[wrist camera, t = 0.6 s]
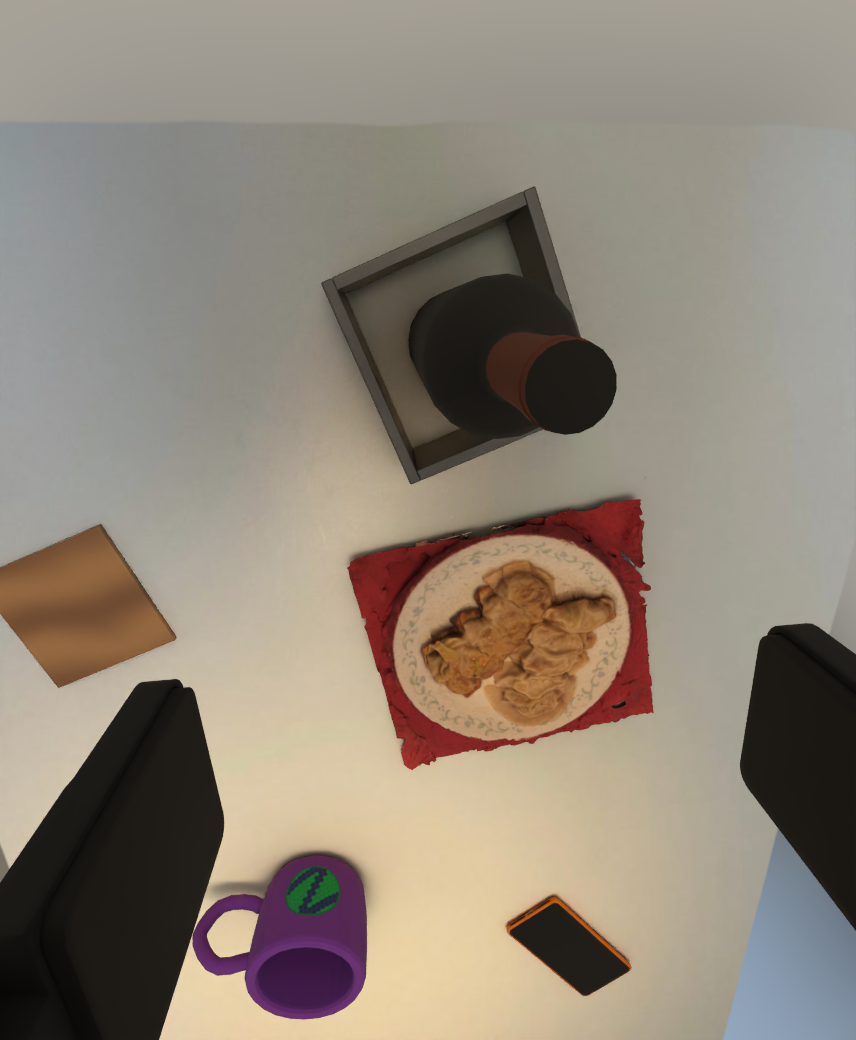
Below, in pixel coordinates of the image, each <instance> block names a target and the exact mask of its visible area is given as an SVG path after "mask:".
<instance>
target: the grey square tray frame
mask: <svg viewBox="0 0 856 1040" xmlns="http://www.w3.org/2000/svg"><path fill="white" fill-rule="evenodd" d="M504 222H506V223H507V226H508V229H509V232H510V235H511V238H512V241H513V244H514V248H515V251H516V254H517V257H518V260H519V263H520V266H521V269H522V272H523V275H524V278H529V279H532V280H534V281H536V282H537V283H539V284H540V285H542V286H544V287H545V288H547V289H548V290H550V291H551V292H553V293H554V294H556V295H557V296H558V297H559V299H560V300H561V301H562V303H563V304H564V305H565V306H566V308H567V309H568V310H569V312H570V313H571V314H572V317H573V320H574V322H575V325H576V328H577V331H578V334H579V337H580V338H581V336H580V333H579V330H578V327H577V323H576V320H575V317H574V313H573V310H572V307H571V303H570V300H569V297H568V294H567V290H566V287H565V284H564V280H563V277H562V274H561V270H560V267H559V264H558V260H557V257H556V254H555V251H554V247H553V244H552V241H551V237H550V234H549V231H548V227H547V224H546V221H545V218H544V214H543V211H542V208H541V204H540V201H539V198H538V194H537V191H536V188H535V187H532V188H529V189H527V190H525V191H523V192H520V193H518V194H516V195H514V196H512V197H509V198H507V199H505V200H503V201H501V202H498V203H496V204H494V205H492V206H489V207H487V208H485V209H483V210H481V211H478V212H476V213H474V214H472V215H470V216H467V217H465V218H463V219H461V220H459V221H456V222H454V223H452V224H450V225H448V226H445V227H443V228H441V229H439V230H436V231H434V232H432V233H430V234H428V235H425V236H423V237H421V238H419V239H417V240H414V241H412V242H410V243H408V244H406V245H403V246H401V247H399V248H397V249H395V250H392V251H390V252H388V253H386V254H383V255H381V256H379V257H377V258H375V259H372V260H370V261H368V262H366V263H364V264H361V265H359V266H357V267H355V268H353V269H350V270H348V271H346V272H344V273H342V274H339V275H337V276H335V277H333V279H332V278H331V279H328V280H326V281H324V282H322V283H321V284H322V287H323V289H324V291H325V293H326V296H327V298H328V300H329V302H330V305H331V307H332V309H333V311H334V314H335V316H336V318H337V320H338V323H339V325H340V327H341V329H342V332H343V334H344V336H345V338H346V341H347V343H348V345H349V347H350V350H351V352H352V354H353V356H354V359H355V361H356V363H357V365H358V367H359V370H360V372H361V374H362V376H363V379H364V381H365V383H366V385H367V388H368V390H369V392H370V394H371V397H372V399H373V401H374V403H375V406H376V408H377V410H378V412H379V415H380V417H381V419H382V421H383V424H384V426H385V428H386V430H387V433H388V435H389V437H390V439H391V442H392V444H393V446H394V448H395V451H396V453H397V455H398V457H399V460H400V462H401V464H402V466H403V469H404V471H405V473H406V475H407V477H408V480H409V482H410V484H413V483H416V482H418V481H420V480H423V479H426V478H428V477H430V476H433V475H435V474H438V473H440V472H442V471H445V470H447V469H449V468H452V467H454V466H457V465H459V464H461V463H464V462H466V461H469V460H471V459H473V458H476V457H478V456H480V455H483V454H485V453H488V452H490V451H492V450H495V449H497V448H500V447H502V446H504V445H507V444H509V443H511V442H514V441H516V440H519V439H521V438H523V437H526V436H528V435H531V434H533V433H535V432H538V431H540V430H542V428H541V427H539V428H537V429H535V430H533V431H530V432H528V433H526V434H524V435H522V436H517V437H510V438H502V439H494V438H489V437H484V436H478V435H473V434H470V433H469V432H467V431H465V430H463V429H460V430H457V431H455V432H453V433H450V434H448V435H446V436H443V437H441V438H438V439H436V440H434V441H431V442H429V443H427V444H424V445H422V446H420V447H417V448H415V449H412V447H411V444H410V442H409V440H408V437H407V435H406V433H405V430H404V428H403V426H402V423H401V421H400V419H399V417H398V414H397V412H396V410H395V407H394V405H393V403H392V400H391V398H390V396H389V394H388V391H387V389H386V387H385V384H384V382H383V380H382V377H381V375H380V373H379V370H378V368H377V366H376V364H375V361H374V359H373V357H372V354H371V352H370V350H369V347H368V345H367V343H366V341H365V338H364V336H363V334H362V331H361V329H360V327H359V324H358V322H357V320H356V317H355V315H354V313H353V311H352V308H351V306H350V304H349V301H348V299H347V297H346V294H345V293H348V292H350V291H352V290H355V289H357V288H359V287H361V286H364V285H366V284H368V283H370V282H372V281H375V280H377V279H379V278H381V277H384V276H386V275H388V274H390V273H393V272H395V271H397V270H399V269H401V268H404V267H406V266H408V265H410V264H413V263H415V262H417V261H419V260H421V259H424V258H426V257H428V256H430V255H433V254H435V253H437V252H439V251H441V250H444V249H446V248H448V247H450V246H453V245H455V244H457V243H459V242H461V241H464V240H466V239H468V238H470V237H473V236H475V235H477V234H479V233H481V232H484V231H486V230H488V229H490V228H493V227H495V226H497V225H499V224H501V223H504Z"/></svg>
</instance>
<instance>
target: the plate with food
mask: <svg viewBox="0 0 856 1040" xmlns="http://www.w3.org/2000/svg"><path fill="white" fill-rule="evenodd" d="M639 515H642V511H641V508H640V500H639V499H637V500H626V501H620V502H605V503H604V504H603V505H602V506H600V507H598V508H596V509H592V510H589V511H585V512H581V511H573V510H571V509H569V510H568V511H560V513H559V512H558V514H556V515H551V516H548V517H540V518H538V519H530V520H527V521H523V522H519V523H516V524H511V525H508V526H504V525H500V526H499V527H497V529H500V528H502V529H505V528H511V527H514V526H515V527H514V528H516V526H517V527H519V528H516V529H513V530H509V531H506V532H502V533H499V534H492V535H488V536H485V537H482V538H474V539H469V540H463V538H460V537H461V536H463V535H464V539H468V538H467V535H468V534H471V532H468V533H464V534H459V535H454V534H453V536H450V537H445V538H442V539H440V540H439V541H440V542H438V541H436V543H432V542H431V543H429V542H428V541H427V540H424V541H422V542H416V546H413V547H408V548H398V549H393V550H389V551H385V552H381V553H375V554H371V555H367V556H364V557H362V558H357V559H355V560H353V561H352V562H351V563H350V566H349V567H348V568H347V569H348V570H349V575H350V580H351V582H352V585H353V589H354V593H355V596H356V599H357V601H358V604H359V608H360V611H361V616H362V618H366V621H367V623H366V625H365V629H366V631H367V635H368V638H369V642H370V645H371V648H372V652H373V655H374V659H375V663H376V667H377V670H378V672H380V675H381V678H382V682H383V685H384V689H385V692H386V696H387V701H388V704H389V709H390V713H391V716H392V720H393V723H394V727H395V730H396V735H397V738H399V739H400V738H401V739H406V741H405V743H404V746H403V748H402V752H401V754H402V757H403V761H404V765H405V766H406V767H407V768H409V769H411V770H413V769H414V768H416V767H417V766H419V765H421V764H422V763H424V764H426V765H430V762H431V761H433V762H435V761H436V759H435V758H437V757H443V756H449V755H453V754H458V753H461V752H465V751H467V752H468V751H469V750H476V749H477V751H481V750H484V751H492V750H494V748H495V749H497V748H498V747H499V746H504V745H508V744H511V745H518V744H521V743H523V742H529V743H530V744H533V743H534V742H535V741H536V739H538V738H541V737H548V736H550V735H553V734H556V733H559V732H565V731H570V732H573V731H574V730H583V729H587V728H589V727H590V726H591V725H594V724H602V723H610V722H611V721H613V722H618V721H619V720H620V719H621V718H623V719H624V718H627V717H628V716H630V715H638V714H642V713H647V714H648V713H650V712H652V713H654V712H653V705H652V703H651V702H652V693H651V688H650V686H652V681H651V676H650V674H649V662H648V659H649V658H648V656H649V654H648V649H647V648H648V643H647V640H648V639H647V629H646V620H645V613H646V606H647V605H642V604H644V603H645V599H644V598H643V597H641V596H640V594H639V592H640V591H641V590H644V591H649V590H651V587H650V585H648V584H646V583H644V582H643V581H642V576H641V575H640V573H639V572H638V571H636V569H635V567H634V566H633V565H632V564H630V563H628V561H627V562H626V560H625V559H624V558H623V556H622V553H621V552H623V553H624V554H626V555H627V557H628V558H630V559H631V560H632V562H633V563H634V564H635V566H637V567H638V568H641V567H642V566H643V565H644V564H645V562H643V554H642V538H643V536H642V530H643V527H644V521H643V520H642V521H641V519H640V517H639ZM520 526H522V527H520ZM493 530H496V527H493V529H491V531H493ZM622 701H625V702H626V705H625V706H622V707H621V708H618V709H614V708H612V707H611V706H613V705H614V704H617V703H620V702H622Z"/></svg>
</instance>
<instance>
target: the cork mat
mask: <svg viewBox="0 0 856 1040" xmlns="http://www.w3.org/2000/svg"><path fill="white" fill-rule="evenodd" d="M0 614H1V615H2V617H3V618H4V619H5V621H6V622H7V623H8V624H9V626H10V627H11V628H12V629H13V631H14V632H15V633H16V635H17V636H18V637H19V638H20V640H21V641H22V642H23V643H24V645H25V646H26V647H27V649H28V650H29V651H30V652H31V654H32V655H33V656H34V657H35V659H36V660H37V661H38V663H39V664H40V665H41V666H42V668H43V669H44V670H45V671H46V673H47V674H48V675H49V677H50V678H51V679H52V680H53V682H54V683H55V684H56V685H57V687H58V688H60V687H62V686H64V685H67V684H69V683H72V682H74V681H77V680H79V679H81V678H84V677H86V676H89V675H91V674H94V673H96V672H98V671H101V670H103V669H106V668H108V667H111V666H113V665H115V664H118V663H120V662H123V661H125V660H128V659H130V658H133V657H135V656H137V655H140V654H142V653H145V652H147V651H150V650H152V649H154V648H157V647H159V646H162V645H164V644H167V643H169V642H171V641H174V640H175V639H176V636H175V635H174V633H173V632H172V630H171V629H170V627H169V626H168V624H167V623H166V621H165V620H164V618H163V617H162V615H161V614H160V612H159V611H158V609H157V608H156V606H155V605H154V603H153V602H152V600H151V599H150V597H149V596H148V594H147V593H146V591H145V590H144V588H143V587H142V585H141V584H140V582H139V581H138V579H137V578H136V576H135V575H134V573H133V572H132V570H131V569H130V567H129V566H128V564H127V563H126V561H125V560H124V558H123V557H122V555H121V554H120V552H119V551H118V549H117V548H116V546H115V545H114V543H113V542H112V540H111V539H110V537H109V536H108V534H107V533H106V531H105V530H104V528H103V527H102V525H98V526H96V527H93V528H91V529H89V530H86V531H84V532H82V533H79V534H77V535H75V536H72V537H70V538H68V539H65V540H63V541H61V542H59V543H56V544H54V545H52V546H49V547H47V548H45V549H42V550H40V551H38V552H35V553H33V554H31V555H28V556H26V557H24V558H22V559H19V560H17V561H15V562H12V563H10V564H8V565H5V566H3V567H1V568H0Z"/></svg>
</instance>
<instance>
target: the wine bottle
mask: <svg viewBox="0 0 856 1040" xmlns="http://www.w3.org/2000/svg"><path fill="white" fill-rule="evenodd" d="M408 342H409V350H410V357H411V359H412V361H413V363H414V365H415V367H416V370H417V372H418V374H419V376H420V377H421V379H422V381H423V383H424V385H425V387H426V389H427V391H428V393H429V395H430V397H431V399H432V401H433V403H434V405H435V406H436V407H437V408H438V409H439V410H440V411H441V413H442V414H443V415H444V416H445V417H446V418H447V419H448V420H449V421H450V422H451V423H452V424H454V425H456V426H458V427H460V428H461V429H463V430H465V431H467V432H469V433H470V434H473V435H478V436H484V437H489V438H494V439H502V438H510V437H517V436H522V435H524V434H526V433H528V432H530V431H533V430H535V429H537V428H539V427H541V428H542V429H544V430H546V431H551V432H554V433H559V434H565V435H566V434H574V433H580V432H582V431H584V430H586V429H589V428H591V427H593V426H594V425H595V424H596V423H597V422H599V421H600V420H601V419H602V418H603V417H604V416H605V414H606V413H607V411H608V410H609V408H610V407H611V405H612V403H613V400H614V396H615V393H616V372H615V369H614V366H613V363H612V361H611V359H610V358H609V357H608V356H607V354H606V353H605V352H604V350H603V349H601V348H599V347H598V346H596V345H595V344H593V343H591V342H589V341H588V340H586V339H583V338H580V337H579V334H578V331H577V328H576V325H575V322H574V320H573V317H572V314H571V313H570V312H569V310H568V309H567V308H566V306H565V305H564V304H563V303H562V301H561V300H560V299H559V297H558V296H557V295H556V294H554V293H553V292H551V291H550V290H548V289H547V288H545V287H544V286H542V285H540V284H539V283H537V282H536V281H534V280H532V279H529V278H524V277H520V276H515V275H511V274H501V275H493V276H485V277H480V278H478V279H475V280H473V281H470V282H468V283H465V284H463V285H460V286H458V287H455V288H453V289H451V290H448V291H446V292H443V293H441V294H439V295H437V296H435V297H433V298H431V299H429V300H428V301H427V302H426V303H425V304H424V305H423V306H422V307H421V308H420V309H419V310H418V312H417V314H416V316H415V318H414V320H413V322H412V324H411V328H410V334H409V339H408Z"/></svg>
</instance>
